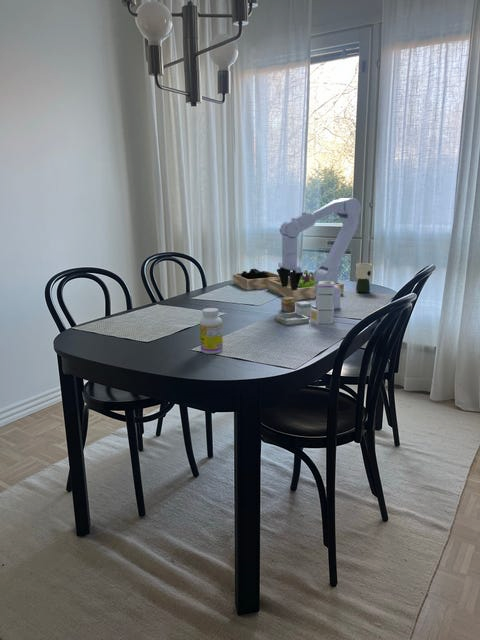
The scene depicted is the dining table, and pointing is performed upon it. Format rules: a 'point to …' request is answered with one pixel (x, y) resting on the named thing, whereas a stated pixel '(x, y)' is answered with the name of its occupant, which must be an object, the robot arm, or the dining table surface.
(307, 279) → the plant
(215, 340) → the supplement bottle
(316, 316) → the label plate
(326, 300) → the syrup box
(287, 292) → the oak planter frame
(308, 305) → the grey block
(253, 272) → the film camera
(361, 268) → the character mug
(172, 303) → the dining table surface
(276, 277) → the shallow wooden crate
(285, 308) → the walnut block
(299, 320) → the parts tray
